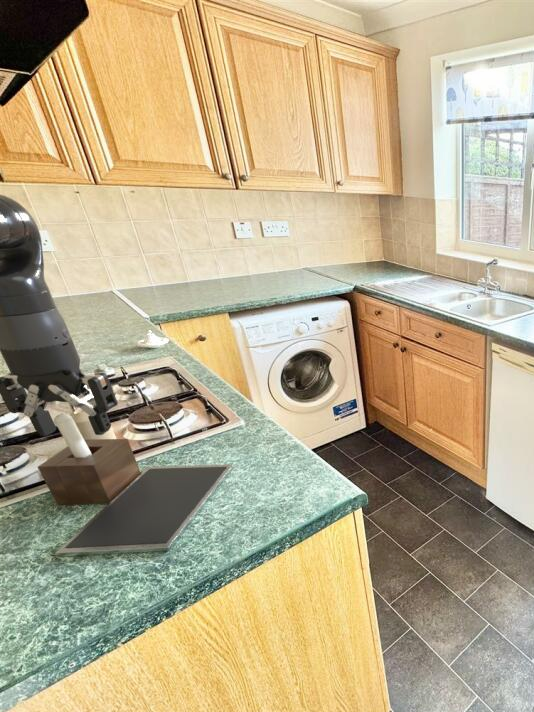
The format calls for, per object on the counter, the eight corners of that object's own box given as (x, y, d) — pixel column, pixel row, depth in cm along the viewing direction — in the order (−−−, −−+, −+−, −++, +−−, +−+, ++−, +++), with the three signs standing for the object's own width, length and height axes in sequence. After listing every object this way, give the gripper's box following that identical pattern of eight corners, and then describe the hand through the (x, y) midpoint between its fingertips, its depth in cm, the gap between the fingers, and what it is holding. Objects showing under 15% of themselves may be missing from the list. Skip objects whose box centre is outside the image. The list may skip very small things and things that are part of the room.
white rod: (91, 493, 73) (48, 418, 66) (99, 485, 75) (58, 411, 67) (104, 493, 74) (62, 418, 66) (112, 485, 75) (72, 411, 68)
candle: (83, 450, 84) (63, 406, 80) (119, 441, 88) (102, 399, 83) (82, 463, 80) (62, 418, 76) (120, 453, 84) (103, 410, 80)
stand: (57, 505, 70) (37, 466, 67) (93, 476, 77) (77, 439, 74) (110, 503, 71) (93, 465, 68) (141, 474, 79) (127, 438, 75)
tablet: (56, 557, 61) (54, 552, 61) (149, 469, 80) (148, 466, 80) (169, 551, 63) (168, 546, 63) (234, 467, 82) (233, 463, 82)
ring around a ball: (135, 352, 130) (168, 349, 133) (129, 335, 127) (162, 332, 131) (141, 345, 136) (171, 342, 140) (135, 328, 134) (167, 326, 137)
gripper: (-49, 347, 58) (5, 446, 65) (68, 348, 60) (108, 444, 67) (3, 330, 65) (47, 422, 72) (107, 332, 67) (139, 421, 74)
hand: (76, 432), depth 69 cm, fingers open, 7 cm apart
